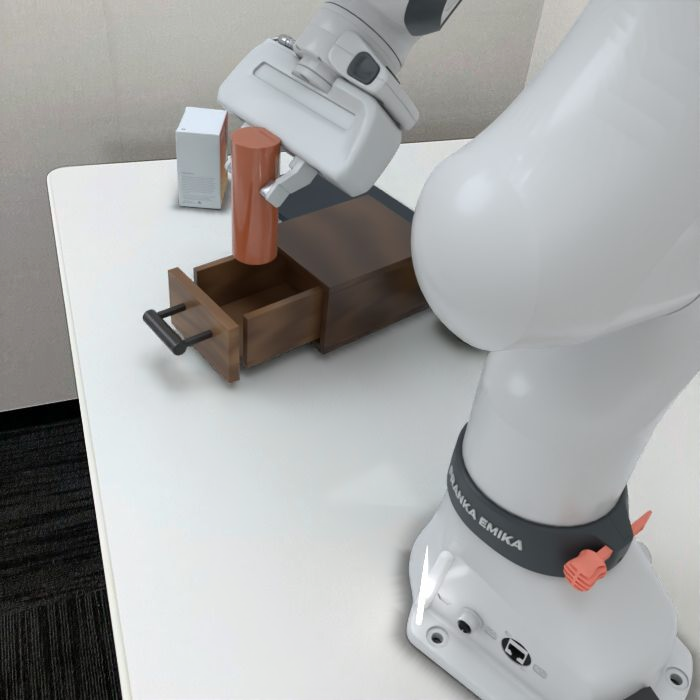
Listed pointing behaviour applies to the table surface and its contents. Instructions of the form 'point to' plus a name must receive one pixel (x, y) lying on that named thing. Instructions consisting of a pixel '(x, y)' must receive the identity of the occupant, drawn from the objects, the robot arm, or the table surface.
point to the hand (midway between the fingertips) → (249, 188)
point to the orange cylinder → (254, 194)
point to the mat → (332, 200)
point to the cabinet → (355, 267)
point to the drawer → (239, 312)
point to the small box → (202, 157)
